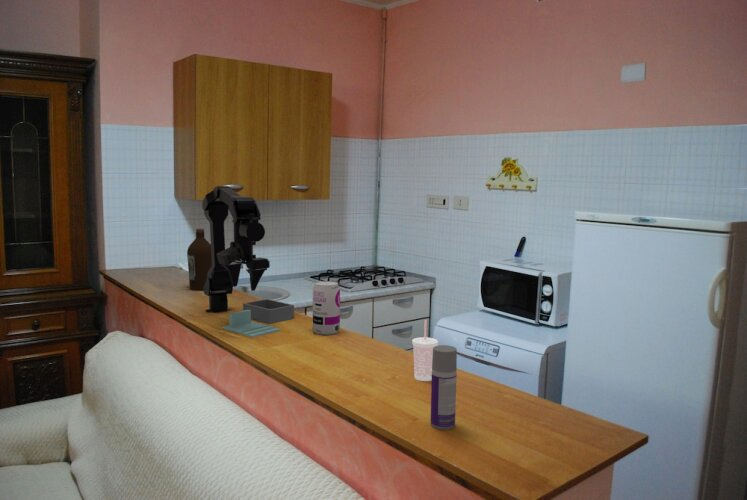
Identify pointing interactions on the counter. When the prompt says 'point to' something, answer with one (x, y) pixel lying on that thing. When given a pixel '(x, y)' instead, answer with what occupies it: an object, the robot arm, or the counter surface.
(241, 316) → the lid
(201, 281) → the olive oil
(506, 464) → the counter surface
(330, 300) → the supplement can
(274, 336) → the counter surface
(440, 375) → the container
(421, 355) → the beverage cup
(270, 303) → the tub
